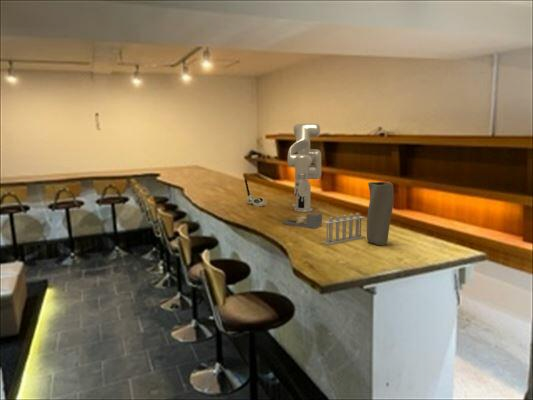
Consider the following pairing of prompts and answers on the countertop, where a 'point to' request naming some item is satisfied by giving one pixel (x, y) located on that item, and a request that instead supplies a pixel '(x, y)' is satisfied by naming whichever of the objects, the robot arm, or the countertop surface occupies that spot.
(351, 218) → the test tube rack
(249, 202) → the butterfly valve
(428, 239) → the countertop surface
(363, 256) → the countertop surface
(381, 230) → the vase
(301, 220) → the beige rectangular block
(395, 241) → the countertop surface
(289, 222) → the guide channel
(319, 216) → the end cap
